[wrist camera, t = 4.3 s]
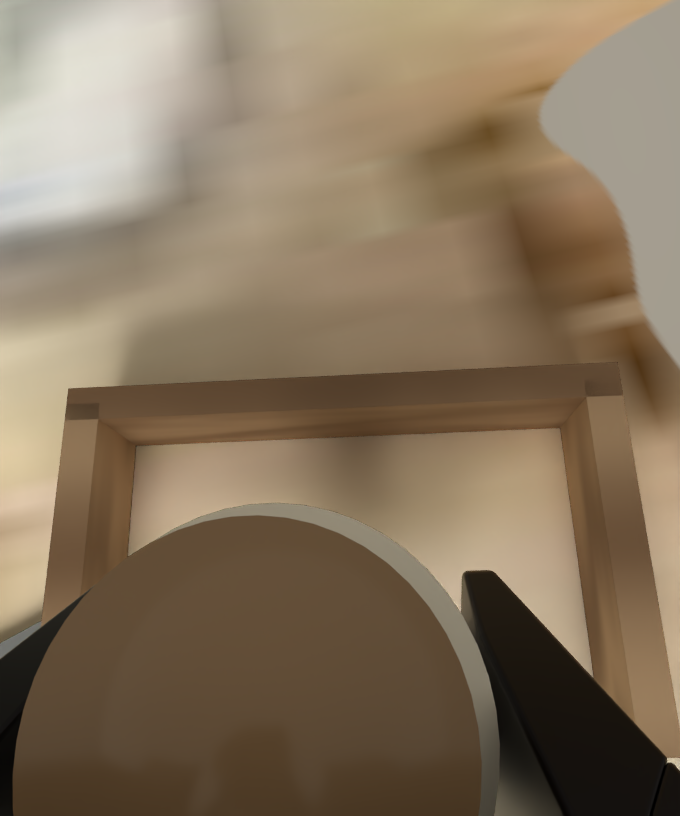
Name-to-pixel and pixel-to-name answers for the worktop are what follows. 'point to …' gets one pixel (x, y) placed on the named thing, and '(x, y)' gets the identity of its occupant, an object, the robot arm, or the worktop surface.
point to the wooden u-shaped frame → (392, 415)
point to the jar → (261, 681)
